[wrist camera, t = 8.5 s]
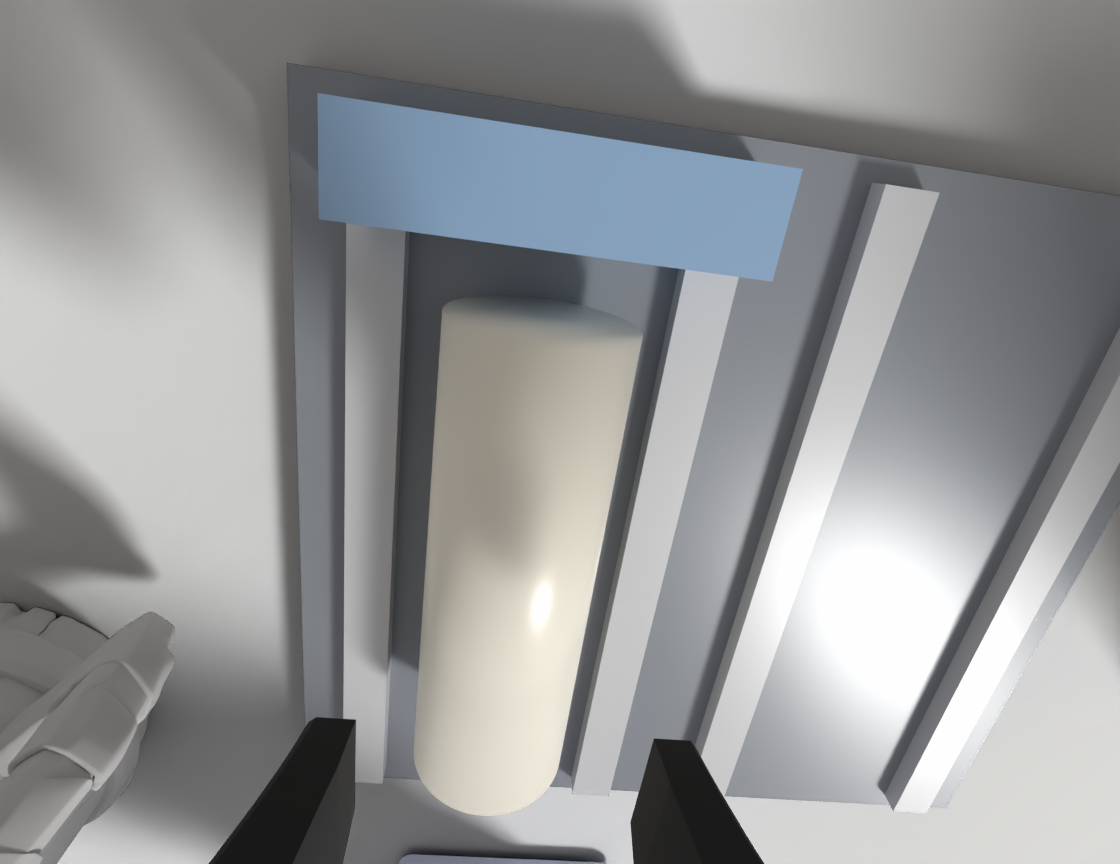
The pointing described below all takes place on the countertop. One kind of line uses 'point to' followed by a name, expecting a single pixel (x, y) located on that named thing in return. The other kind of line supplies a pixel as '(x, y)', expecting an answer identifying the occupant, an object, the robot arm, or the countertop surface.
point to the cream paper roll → (514, 538)
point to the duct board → (714, 427)
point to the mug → (70, 723)
